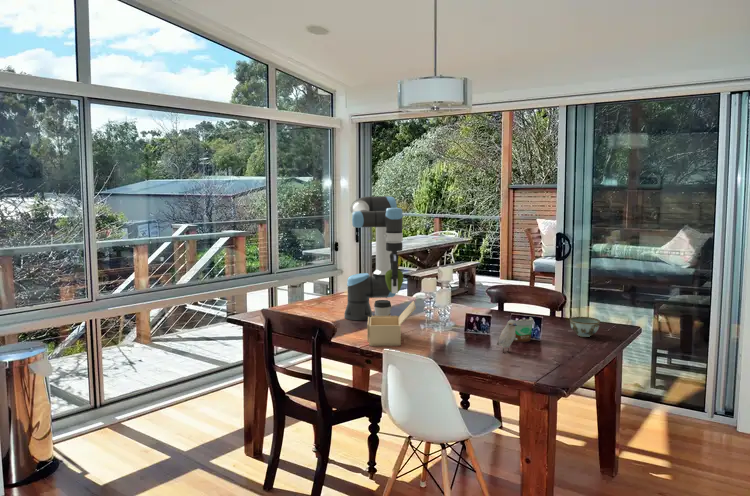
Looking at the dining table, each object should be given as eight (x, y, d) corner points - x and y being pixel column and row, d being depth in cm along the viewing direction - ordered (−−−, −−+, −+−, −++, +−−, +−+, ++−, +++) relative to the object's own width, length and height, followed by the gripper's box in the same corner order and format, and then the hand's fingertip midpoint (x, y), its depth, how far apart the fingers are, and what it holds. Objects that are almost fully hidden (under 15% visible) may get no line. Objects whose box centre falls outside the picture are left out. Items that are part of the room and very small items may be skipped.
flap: (399, 316, 292) (413, 300, 292) (400, 316, 293) (414, 301, 292) (400, 324, 277) (415, 307, 276) (401, 324, 277) (416, 308, 276)
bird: (511, 357, 258) (512, 322, 256) (492, 349, 270) (493, 315, 269) (521, 356, 260) (522, 321, 258) (502, 348, 272) (503, 314, 271)
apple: (381, 292, 286) (381, 267, 285) (398, 290, 290) (398, 266, 288) (390, 295, 278) (390, 270, 277) (406, 294, 282) (406, 268, 280)
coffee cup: (389, 334, 298) (389, 303, 296) (372, 333, 299) (372, 302, 298) (392, 329, 306) (392, 300, 304) (376, 329, 308) (375, 299, 306)
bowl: (568, 338, 289) (568, 321, 288) (569, 331, 301) (570, 315, 300) (599, 341, 284) (600, 323, 283) (599, 334, 296) (600, 317, 296)
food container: (518, 344, 279) (518, 322, 278) (509, 340, 285) (509, 319, 284) (539, 340, 285) (539, 319, 284) (530, 337, 290) (530, 316, 289)
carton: (368, 335, 296) (368, 315, 294) (399, 335, 295) (399, 315, 294) (367, 346, 276) (367, 325, 275) (400, 346, 276) (400, 325, 275)
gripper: (385, 239, 292) (385, 287, 294) (386, 244, 270) (386, 295, 273) (401, 239, 292) (400, 286, 295) (404, 244, 271) (403, 295, 273)
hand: (394, 291), depth 284 cm, fingers closed on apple, 8 cm apart
